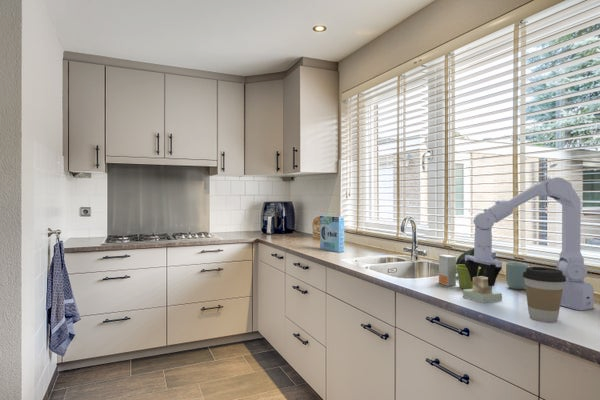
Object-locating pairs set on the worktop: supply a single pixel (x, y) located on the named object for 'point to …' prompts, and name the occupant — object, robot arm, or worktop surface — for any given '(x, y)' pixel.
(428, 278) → the worktop surface
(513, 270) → the cup
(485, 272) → the squash
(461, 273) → the plant pot
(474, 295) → the sage block
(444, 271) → the skincare box
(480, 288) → the maple block
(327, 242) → the gum box
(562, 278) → the coffee cup
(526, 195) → the robot arm
